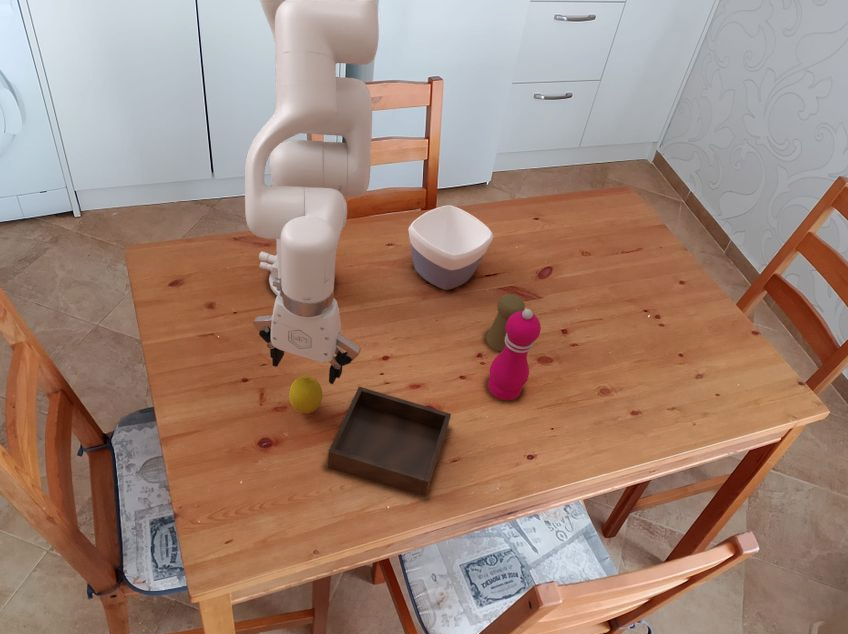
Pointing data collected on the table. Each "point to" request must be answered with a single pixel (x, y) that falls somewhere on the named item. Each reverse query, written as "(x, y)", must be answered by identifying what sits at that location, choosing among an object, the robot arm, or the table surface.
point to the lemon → (305, 394)
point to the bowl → (448, 245)
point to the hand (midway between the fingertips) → (306, 368)
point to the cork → (503, 320)
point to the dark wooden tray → (389, 441)
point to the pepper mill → (514, 356)
